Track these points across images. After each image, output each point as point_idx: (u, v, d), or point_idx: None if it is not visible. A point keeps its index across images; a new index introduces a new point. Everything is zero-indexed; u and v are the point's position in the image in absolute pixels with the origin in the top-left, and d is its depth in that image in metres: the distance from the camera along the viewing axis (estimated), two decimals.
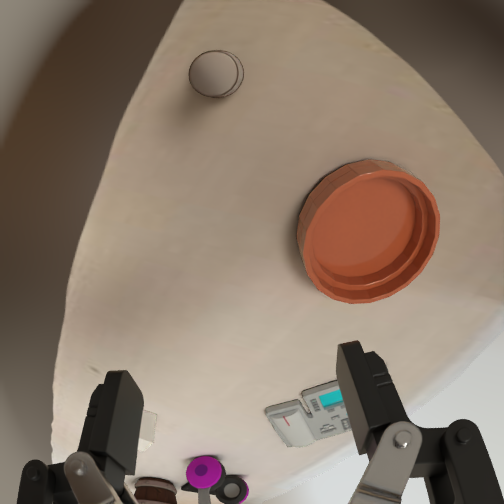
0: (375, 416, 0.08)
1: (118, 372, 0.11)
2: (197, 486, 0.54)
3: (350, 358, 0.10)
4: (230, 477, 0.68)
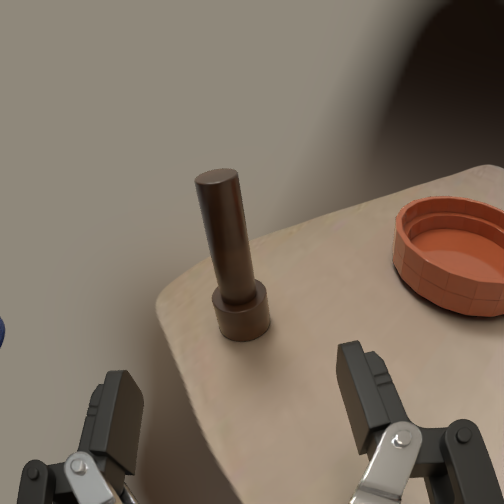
0: (375, 416, 0.08)
1: (118, 372, 0.11)
2: None
3: (350, 358, 0.10)
4: None
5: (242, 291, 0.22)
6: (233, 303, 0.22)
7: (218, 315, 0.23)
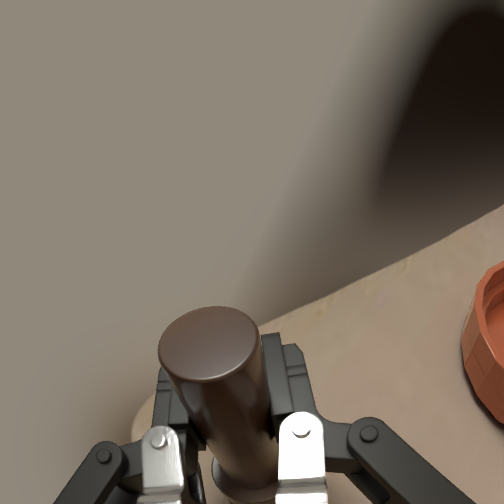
0: (279, 404, 0.09)
1: None
2: None
3: (267, 348, 0.11)
4: None
5: (262, 480, 0.11)
6: (246, 488, 0.11)
7: None
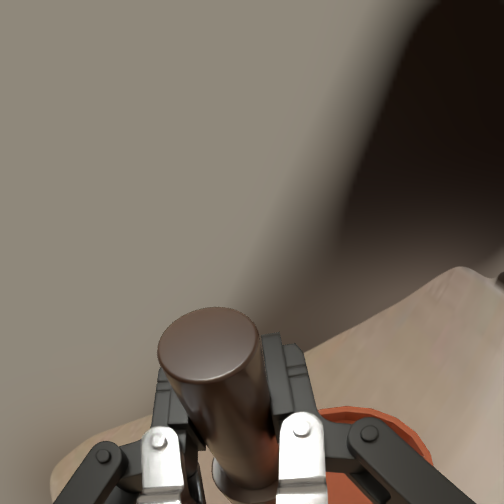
0: (279, 404, 0.09)
1: None
2: None
3: (267, 348, 0.11)
4: None
5: (262, 480, 0.11)
6: (246, 488, 0.11)
7: None
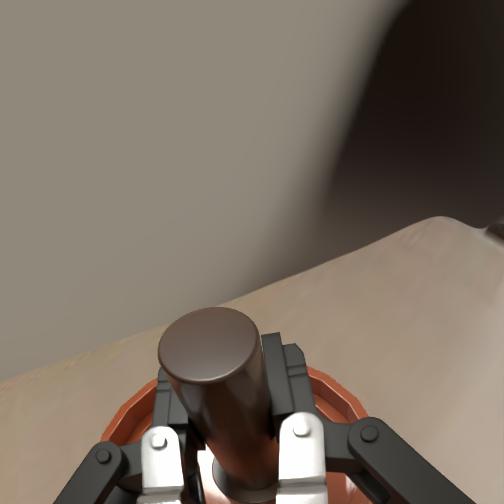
0: (279, 404, 0.09)
1: None
2: None
3: (267, 348, 0.11)
4: None
5: (262, 480, 0.11)
6: (247, 489, 0.11)
7: None
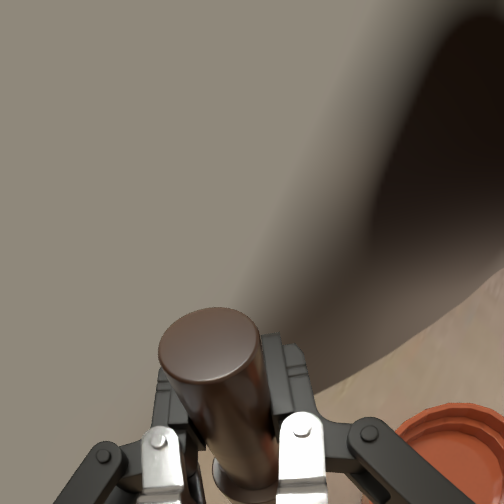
0: (279, 404, 0.09)
1: None
2: None
3: (267, 348, 0.11)
4: None
5: (262, 480, 0.11)
6: (247, 489, 0.11)
7: None
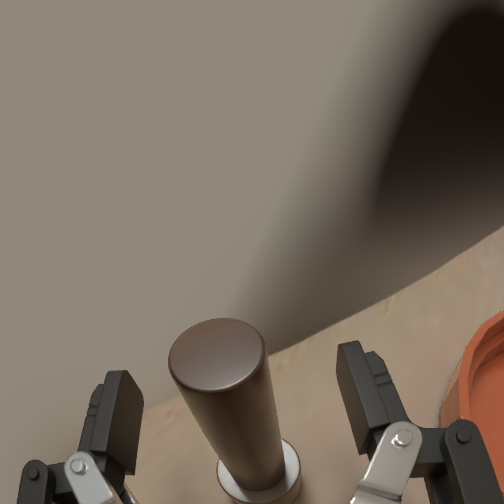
0: (375, 416, 0.08)
1: (118, 372, 0.11)
2: None
3: (350, 358, 0.10)
4: None
5: (265, 481, 0.11)
6: (251, 489, 0.12)
7: None
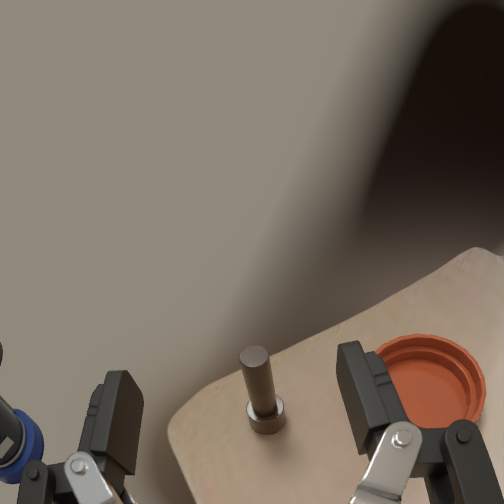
0: (375, 416, 0.08)
1: (118, 372, 0.11)
2: None
3: (350, 358, 0.10)
4: None
5: (268, 410, 0.30)
6: (262, 416, 0.31)
7: (251, 421, 0.31)
